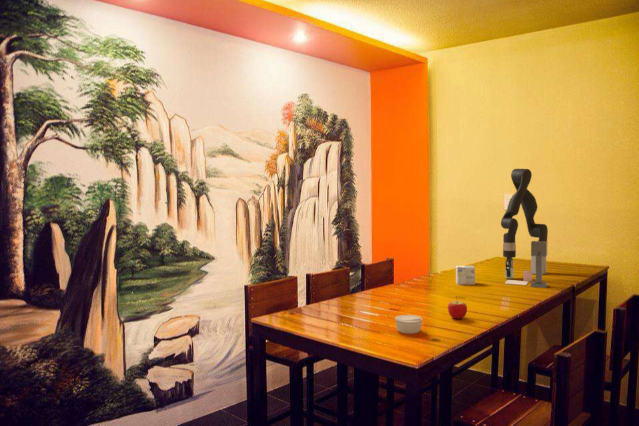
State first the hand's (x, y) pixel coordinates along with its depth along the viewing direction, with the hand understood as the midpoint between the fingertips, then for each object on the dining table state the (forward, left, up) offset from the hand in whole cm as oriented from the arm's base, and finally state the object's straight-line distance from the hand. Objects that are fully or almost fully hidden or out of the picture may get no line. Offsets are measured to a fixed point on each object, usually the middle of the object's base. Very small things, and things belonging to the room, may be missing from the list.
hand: (509, 276), depth 318 cm
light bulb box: (+27, -21, -2) cm, 35 cm away
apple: (+108, -5, -2) cm, 108 cm away
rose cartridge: (+1, +11, -2) cm, 11 cm away
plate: (+11, +6, -2) cm, 13 cm away
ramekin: (+136, -18, -2) cm, 137 cm away
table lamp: (+16, +19, -2) cm, 25 cm away
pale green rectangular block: (0, 0, -1) cm, 1 cm away
